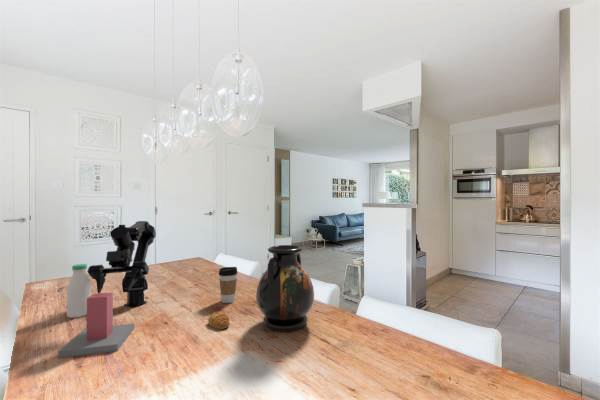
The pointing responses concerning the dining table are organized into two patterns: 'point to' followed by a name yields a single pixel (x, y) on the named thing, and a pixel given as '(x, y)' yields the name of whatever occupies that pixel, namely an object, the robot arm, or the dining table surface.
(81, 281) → the milk bottle
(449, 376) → the dining table surface
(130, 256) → the robot arm
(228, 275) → the coffee cup
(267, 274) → the amphora vase
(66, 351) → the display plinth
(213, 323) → the pastry
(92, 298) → the red rectangular block
